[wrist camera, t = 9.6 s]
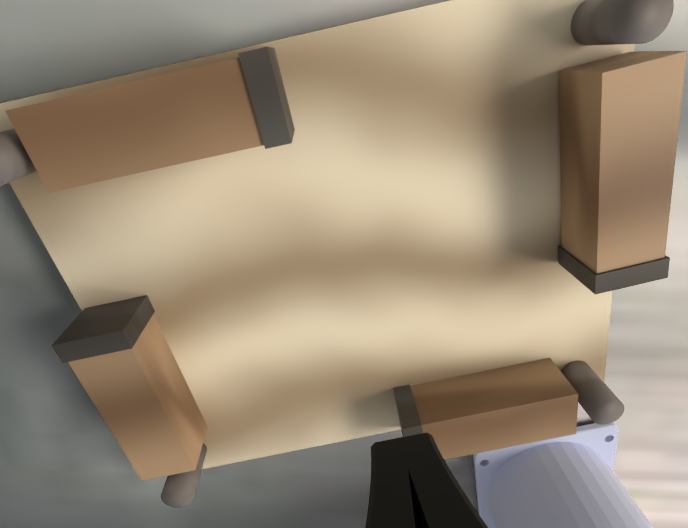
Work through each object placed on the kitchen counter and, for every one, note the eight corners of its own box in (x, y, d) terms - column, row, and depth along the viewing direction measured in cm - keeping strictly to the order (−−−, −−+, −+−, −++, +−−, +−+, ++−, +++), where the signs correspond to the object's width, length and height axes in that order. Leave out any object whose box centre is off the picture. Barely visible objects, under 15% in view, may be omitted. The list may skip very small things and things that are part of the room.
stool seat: (589, 373, 22) (639, 430, 19) (180, 454, 23) (157, 524, 20) (618, -37, 14) (712, -65, 11) (-8, 106, 15) (-101, 121, 12)
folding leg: (554, 71, 15) (601, 74, 12) (631, 50, 14) (693, 50, 12) (558, 263, 18) (595, 294, 16) (620, 248, 18) (667, 277, 15)
